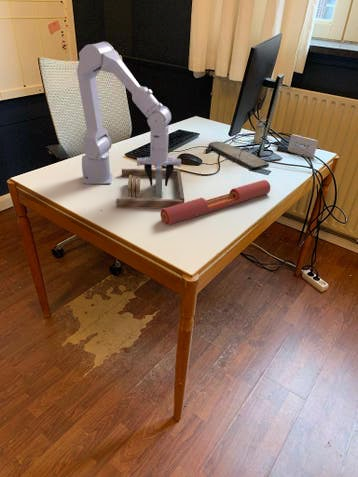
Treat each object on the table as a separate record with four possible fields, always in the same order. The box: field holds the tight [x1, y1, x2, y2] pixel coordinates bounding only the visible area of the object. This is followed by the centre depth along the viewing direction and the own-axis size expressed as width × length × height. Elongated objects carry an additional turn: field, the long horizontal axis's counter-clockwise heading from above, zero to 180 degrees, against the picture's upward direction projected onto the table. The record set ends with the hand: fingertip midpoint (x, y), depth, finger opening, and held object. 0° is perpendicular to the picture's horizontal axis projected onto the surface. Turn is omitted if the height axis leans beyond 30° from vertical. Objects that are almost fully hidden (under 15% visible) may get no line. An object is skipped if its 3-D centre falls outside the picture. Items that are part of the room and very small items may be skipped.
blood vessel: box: [159, 179, 271, 226], centre depth 116 cm, size 42×5×5 cm, turn 123°
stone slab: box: [207, 141, 270, 171], centre depth 153 cm, size 10×3×30 cm
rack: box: [115, 168, 185, 209], centre depth 123 cm, size 22×24×3 cm
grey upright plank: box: [155, 165, 163, 198], centre depth 122 cm, size 2×10×8 cm, turn 3°
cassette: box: [287, 133, 319, 158], centre depth 157 cm, size 12×2×8 cm, turn 53°
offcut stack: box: [126, 175, 141, 198], centre depth 123 cm, size 4×10×4 cm, turn 4°
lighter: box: [253, 118, 267, 143], centre depth 168 cm, size 7×4×10 cm, turn 135°
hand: (158, 184), depth 123 cm, fingers open, 4 cm apart
